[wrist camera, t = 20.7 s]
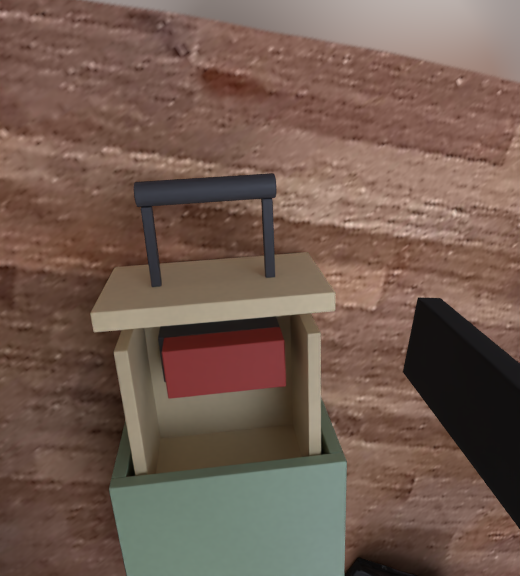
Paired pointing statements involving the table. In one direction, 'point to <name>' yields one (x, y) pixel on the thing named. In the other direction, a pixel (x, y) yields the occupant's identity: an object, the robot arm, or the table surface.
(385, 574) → the handheld gaming console
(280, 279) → the drawer
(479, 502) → the table surface
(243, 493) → the cabinet
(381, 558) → the table surface
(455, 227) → the table surface
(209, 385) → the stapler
